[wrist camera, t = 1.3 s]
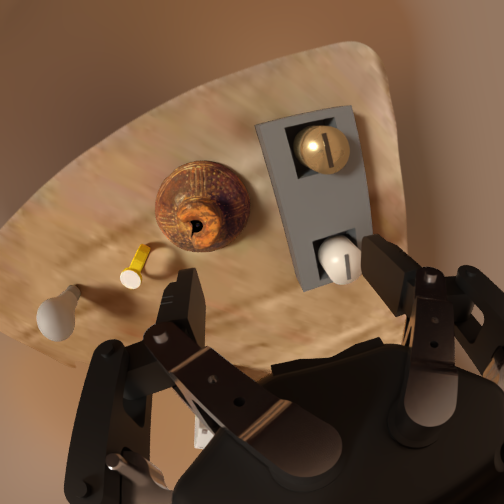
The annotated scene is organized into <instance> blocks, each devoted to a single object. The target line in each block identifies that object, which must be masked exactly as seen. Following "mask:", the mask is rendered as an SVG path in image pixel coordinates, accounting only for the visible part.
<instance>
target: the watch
mask: <svg viewBox="0 0 504 504" xmlns="http://www.w3.org/2000/svg"><path fill="white" fill-rule="evenodd" d="M150 249H151V248H150V247H148V246H146V245H144V244H141V245H140V246H139V248H138V250H137V252H136V254H135V256H134V258H133V260H132V263H131V265H130V267H128V268H125V269H124V270H123V271H122V273H121V275H120V280H121V282H122V284H123V285H124V286H125V287H127V288H129V289H132V290H133V289H135V288H138V287H139V286H140V285H141V282H142V275H141V270H142V268H143V266H144V263H145V261H146V259H147V256H148V254H149V252H150Z"/></svg>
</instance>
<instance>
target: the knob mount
mask: <svg viewBox="0 0 504 504" xmlns="http://www.w3.org/2000/svg"><path fill="white" fill-rule="evenodd" d="M308 126H331V127H334V128H337V129H338V130H340V131H341V132H342V133H343V134H344V135H345V136H346V138H347V140H348V143H349V147H350V155H349V158H348V161H347V163H346V165H345V166H344V167H343V168H342V169H341V170H340V171H338V172H336V173H333V174H321V173H318V172H316V171H314V170H312V169H310V168H308V167H306V166H304V165H303V164H301V163H300V162H299V161H298V159H297V158H296V156H295V153H294V149H293V144H294V140H295V137H296V135H297V134H298V133H299V131H301V130H302V129H303V128H305V127H308ZM255 128H256V132H257V135H258V138H259V142H260V145H261V148H262V152H263V155H264V158H265V162H266V165H267V169H268V172H269V176H270V179H271V183H272V186H273V190H274V193H275V197H276V201H277V204H278V208H279V212H280V215H281V219H282V223H283V227H284V230H285V234H286V238H287V242H288V246H289V250H290V254H291V258H292V261H293V265H294V269H295V274H296V277H297V279H298V281H299V284H300V286H301V288H302V290H303V292H305V291H308V290H311V289H314V288H317V287H320V286H323V285H326V284H329V283H332V282H333V281H332V280H331V279H330V277H329V276H328V274H327V273H326V271H325V270H324V268H323V267H322V265H321V264H320V262H319V260H318V251H319V248H320V246H321V244H322V243H323V242H324V241H325V240H326V239H327V238H329V237H331V236H334V235H343V236H345V237H347V238H348V239H349V240H350V241H351V242H352V243H353V244H354V245H355V246H356V247H357V248H358V249H359V250H360V251H361V246H362V238H363V237H364V236H368V235H373V230H372V220H371V210H370V202H369V194H368V187H367V180H366V174H365V168H364V162H363V156H362V151H361V146H360V141H359V136H358V131H357V127H356V122H355V118H354V114H353V110H352V105H349V106H339V107H333V108H327V109H322V110H317V111H312V112H307V113H302V114H297V115H293V116H289V117H284V118H280V119H276V120H272V121H268V122H265V123H261V124H257V125H255Z"/></svg>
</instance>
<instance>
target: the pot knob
mask: <svg viewBox="0 0 504 504" xmlns="http://www.w3.org/2000/svg"><path fill="white" fill-rule="evenodd" d="M318 260H319V262H320V264H321V265H322V267H323V268H324V270H325V271H326V273H327V274H328V276H329V277H330V279H331V280H332V281H333V282H334V283H336V284H340V285H345V284H349V283H352V282H353V281H355V280H356V279H357V278H358V277H359V276H360V275H361V274H362V271H361V251H360V250H359V249H358V248H357V247H356V246H355V245H354V244H353V243H352V242H351V241H350V240H349V239H348V238H347V237H345V236H343V235H334V236H331V237H329V238H327V239H326V240H325V241H324V242H323V243H322V244H321V246H320V248H319V251H318Z"/></svg>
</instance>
